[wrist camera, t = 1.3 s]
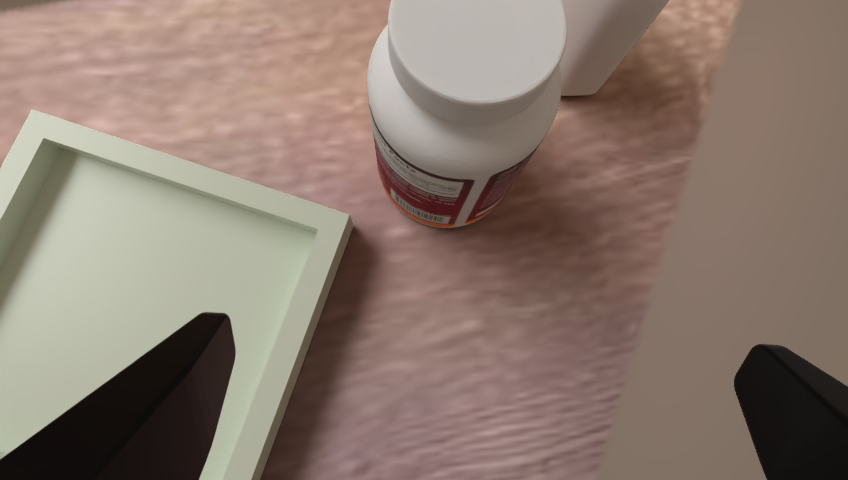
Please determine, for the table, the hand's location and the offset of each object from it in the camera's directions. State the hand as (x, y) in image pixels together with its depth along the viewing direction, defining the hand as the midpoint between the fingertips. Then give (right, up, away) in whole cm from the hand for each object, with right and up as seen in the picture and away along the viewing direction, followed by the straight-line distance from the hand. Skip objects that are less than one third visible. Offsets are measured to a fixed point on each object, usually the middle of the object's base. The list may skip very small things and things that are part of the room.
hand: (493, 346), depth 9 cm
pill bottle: (0, +5, +15) cm, 16 cm away
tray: (-13, -2, +13) cm, 18 cm away
